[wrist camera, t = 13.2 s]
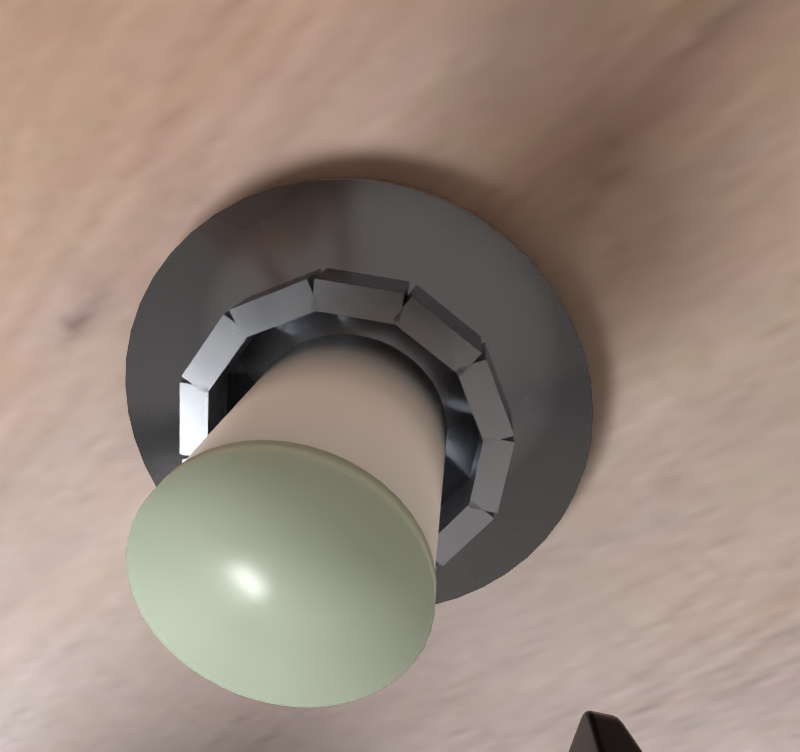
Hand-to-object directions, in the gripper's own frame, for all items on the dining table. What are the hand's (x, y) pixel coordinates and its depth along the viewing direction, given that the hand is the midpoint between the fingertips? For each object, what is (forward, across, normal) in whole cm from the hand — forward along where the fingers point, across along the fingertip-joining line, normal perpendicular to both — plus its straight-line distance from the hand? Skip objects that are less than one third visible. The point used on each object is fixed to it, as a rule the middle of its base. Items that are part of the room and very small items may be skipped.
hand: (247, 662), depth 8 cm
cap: (+8, 0, 0) cm, 8 cm away
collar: (+8, 0, 0) cm, 8 cm away
